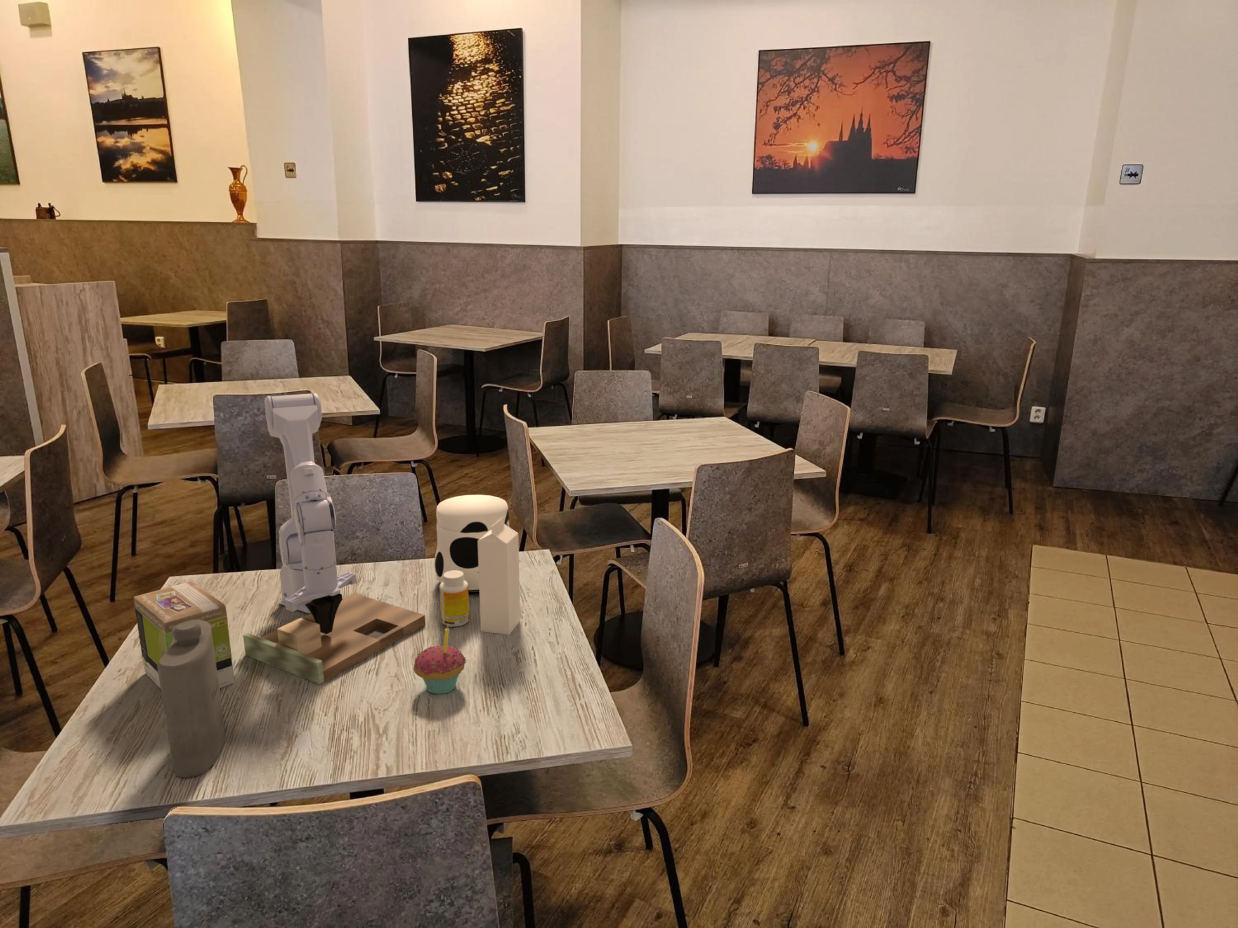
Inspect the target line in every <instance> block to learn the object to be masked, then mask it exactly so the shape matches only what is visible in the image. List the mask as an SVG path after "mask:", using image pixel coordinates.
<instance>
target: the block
mask: <svg viewBox="0 0 1238 928" xmlns="http://www.w3.org/2000/svg"><path fill="white" fill-rule="evenodd" d="M302 618H303V617H300V618H297V619H295V620H293V621H291V622H288V623H286V624H285V625H282V626H280V627H279V628H277V629H276V630H278V639H279V645H282V646H284V647H287V648H290V649H292V650H295V651H298V652H300V653H303V654H306V655H307V654H309V653H311V652H313V651H315V650H317V649H319V648H321V647H322V645H321V635H320V624H317V623H314V622H311V621H308V620H305V619H302Z"/></svg>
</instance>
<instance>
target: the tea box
mask: <svg viewBox="0 0 1238 928" xmlns="http://www.w3.org/2000/svg"><path fill="white" fill-rule="evenodd" d="M133 603H134V611H135V617H136V624H137V631H138V637H139V645H140V650H141V651H140V652H141V657H142V658H141V659H142V664H143V671H144V673H145V674H146V675H147V676H148V677H149V679H151V680H152V682H154V683H155V685H157V687H158V688H159V689H161V687H160V681H159V675H158V668H157V663H158V661H159V660H160V659H161V658H162V657H163V655H164V654H165V653H166V652H167V650H168V649H169V647H170V644H171V642H172V629H173V628H174V627H175V626H177V625H178V624H180V623H183V622H186V621H191V620H203V621H206V622H208V623H209V624H210V626H211V631H212V639H213V646H214V653H215V661H216V668H217V675H218V683H219V690H220V689H222V688H224V687H228V686H230V685H232V684H234V683H235V677H234V676H235V673H234V667H233V665H234V664H233V657H232V656H233V655H232V648H231V642H230V641H231V640H230V631H229V625H228V614H227V607H226V605H225V604H224V603H223V602H222V601H221V600H219V598H216V597H215V596H214V595H212V594H211V593H209V592H208V591H207V590H205V589H203V588H202V587H201V586H200V585H198V584H196V582H194V581H187V582H184V583H180V584H176V585H172V586H169V587H165V588H162V589H157V590H153V591H150V592H146V593H142V594H139V595H135V596H133Z"/></svg>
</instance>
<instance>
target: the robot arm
mask: <svg viewBox="0 0 1238 928" xmlns="http://www.w3.org/2000/svg"><path fill="white" fill-rule="evenodd" d="M264 410H265V418H266V419H265V420H266V424H267V431H268V433H269V436H271V437H274V438H277V439H279V440H280V443H281V445H282V447H283V452H284V463H285V469H286V470H285V471H286V478H287V487H288V488H287V489H288V497H289V503H290V504H289V505H290V512H291V517H290V518H289V519H288V520H287V521H285V523H283V524H282V525H281V526H280V527H279V530H278V535H279V539H278V540H279V541H278V544H279V553H280V559H281V562H282V566H281V568H280V571H279V581H280V590H281V591H280V592H281V598H282V599H281V600H279V601H278V603H279V604H280V605H282V606H285V610H287V611H289V612H292V613H294V612H296V611H301V612H303V613H306V614H312V615H313V617H314V619H315V621H316V623H317V624H320V632H321V633H324V634H328V633H330V632H332V629H333V624H334V619H335V615H336V612H337V609H338V607H339V605H340V603H341V601H342V600H343V594H342V593H341V589H342V588H345V587H346V586H348V585H351V586H353V585H355V584H357V573H355V572H351V571H347V572H344V573H342V574H338V571H337V570H338V569H337V557H336V547H335V546H336V545H335V536H334V535H335V534H334V530H335V529H336V527H337V526H336V525H337V518H336V517H337V516H336V509H335V505H334V503H333V502H334V501H333V500H332V498H331V495H330V493H328V489H327V483H326V480H325V479H326V478H325V473H324V470H323V468H322V467H321V466H320V465H318V464H316V463H315V454H314V452H315V451H314V443H313V442H314V440H313V434H315V433H317V432H319V429H320V426H321V422H322V421H323V420H322V419H323V412H322V405H321V398H320V395H319V394H317V393H316V392H312V393H301V394H286V395H272V396H271V395H267V396H266V397H265V398H264Z"/></svg>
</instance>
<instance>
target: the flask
mask: <svg viewBox="0 0 1238 928" xmlns="http://www.w3.org/2000/svg"><path fill="white" fill-rule="evenodd" d="M157 668H158V675H159V681H160V687H161V688H160V687H159V688H160V694H161V699H162V706H163V712H164V717H165V718H164V719H165V724H166V731H167V737H168V742H169V749H170V756H171V762H172V768H173V774H174V775H175V776H177V777H180V778H183V779H187V778H194V777H197V776H198V777H199V776H200V775H202V774H204V773H206V772H207V771H208V770H210V768H211V767H212V766H213V765H214V764H215V763H216V761H217V759H218V757H219V756H220V754H221V751H222V749H223V746H224V742H225V737H226V729H225V721H224V720H225V719H224V713H223V706H222V700H221V691H220V689H219V683H218V675H217V668H216V661H215V653H214V646H213V639H212V631H211V626H210V624H209V623H208V622H206V621H203V620H191V621H186V622H183V623H180V624H178V625H177V626H175V627H174V628H173V629H172V642H171V644H170V647H169V649H168V650H167V652H166V653H165V654H164V655H163V657H162V658H161V659H160V660H159V661H158V663H157Z"/></svg>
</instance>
